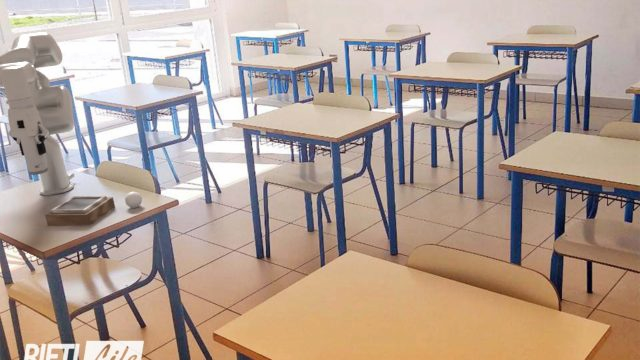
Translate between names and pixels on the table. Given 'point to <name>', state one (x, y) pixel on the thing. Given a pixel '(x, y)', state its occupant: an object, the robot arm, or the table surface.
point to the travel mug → (31, 152)
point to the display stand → (80, 211)
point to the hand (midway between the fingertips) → (34, 153)
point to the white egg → (133, 199)
